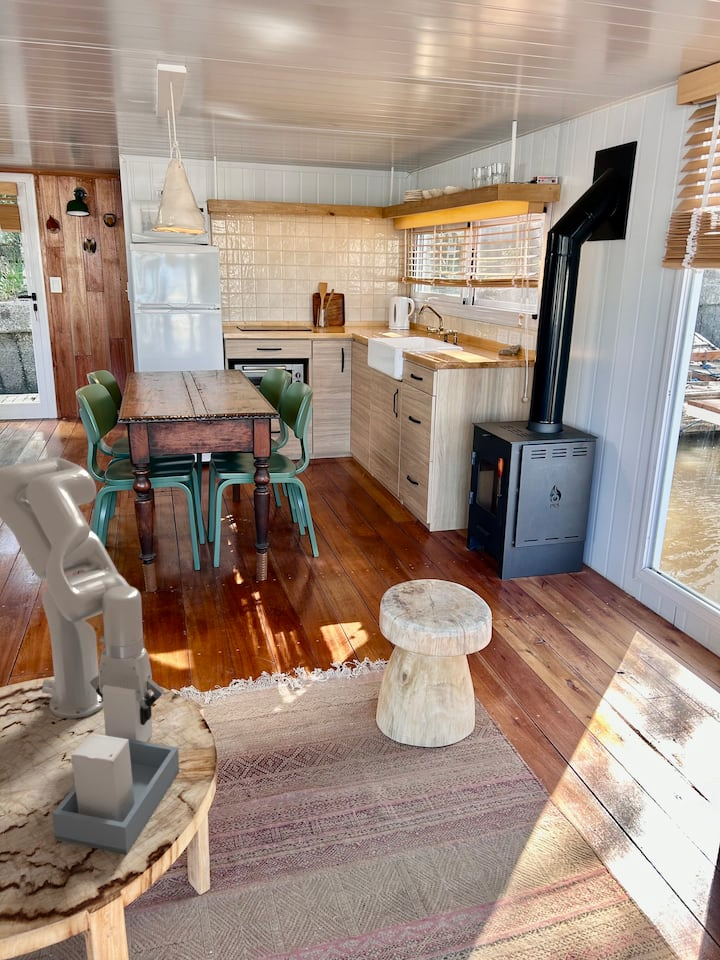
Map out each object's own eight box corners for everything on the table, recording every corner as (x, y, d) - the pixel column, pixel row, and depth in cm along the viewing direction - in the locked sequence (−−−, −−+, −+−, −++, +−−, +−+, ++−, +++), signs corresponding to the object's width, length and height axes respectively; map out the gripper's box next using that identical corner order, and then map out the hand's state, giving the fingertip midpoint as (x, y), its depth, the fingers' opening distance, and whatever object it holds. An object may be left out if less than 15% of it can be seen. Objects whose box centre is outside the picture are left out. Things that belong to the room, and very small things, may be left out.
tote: (55, 840, 133) (52, 813, 131) (115, 760, 153) (114, 736, 152) (126, 854, 130) (125, 827, 129) (178, 772, 151) (178, 747, 149)
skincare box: (135, 807, 140) (131, 738, 135) (117, 832, 134) (113, 761, 129) (95, 798, 141) (90, 730, 137) (76, 823, 135) (70, 753, 130)
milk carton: (137, 756, 155) (132, 678, 149) (106, 750, 156) (100, 672, 150) (152, 735, 162) (149, 659, 156) (123, 729, 163) (118, 654, 157)
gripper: (75, 648, 149) (81, 722, 155) (155, 660, 147) (158, 735, 152) (95, 630, 157) (100, 701, 162) (171, 641, 154) (174, 714, 159)
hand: (128, 717), depth 157 cm, fingers closed on milk carton, 7 cm apart
